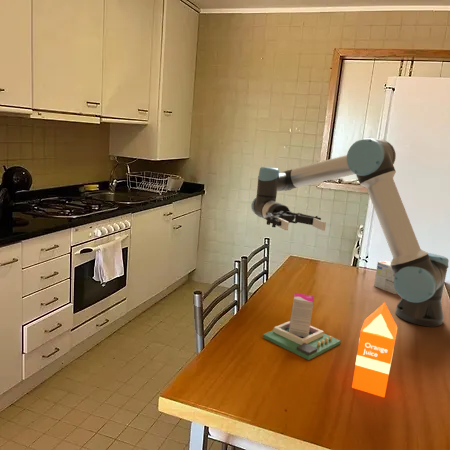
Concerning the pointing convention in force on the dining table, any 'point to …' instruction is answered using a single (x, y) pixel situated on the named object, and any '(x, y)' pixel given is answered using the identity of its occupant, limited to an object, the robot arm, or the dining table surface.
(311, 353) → the socket board
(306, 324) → the supplement box
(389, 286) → the light bulb box
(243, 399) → the dining table surface
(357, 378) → the orange juice
